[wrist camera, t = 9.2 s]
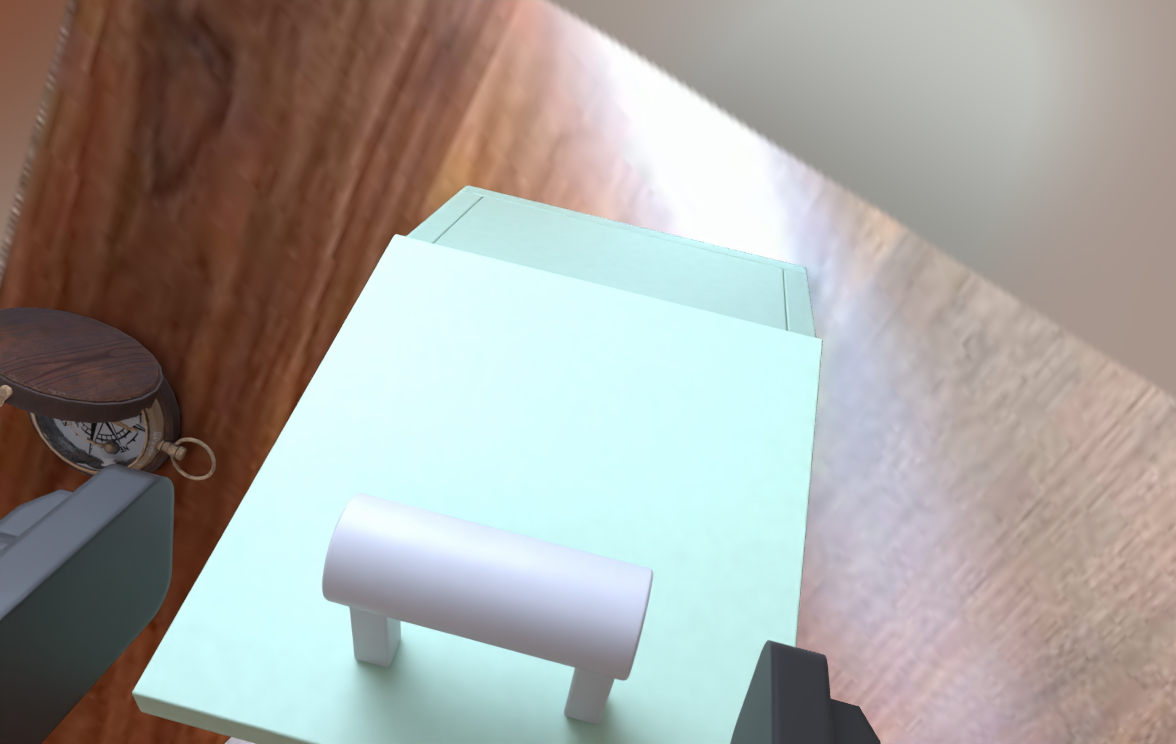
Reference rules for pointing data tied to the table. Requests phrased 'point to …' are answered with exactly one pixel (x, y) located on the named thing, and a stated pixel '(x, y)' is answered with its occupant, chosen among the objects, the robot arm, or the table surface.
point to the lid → (508, 523)
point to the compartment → (623, 257)
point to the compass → (90, 391)
